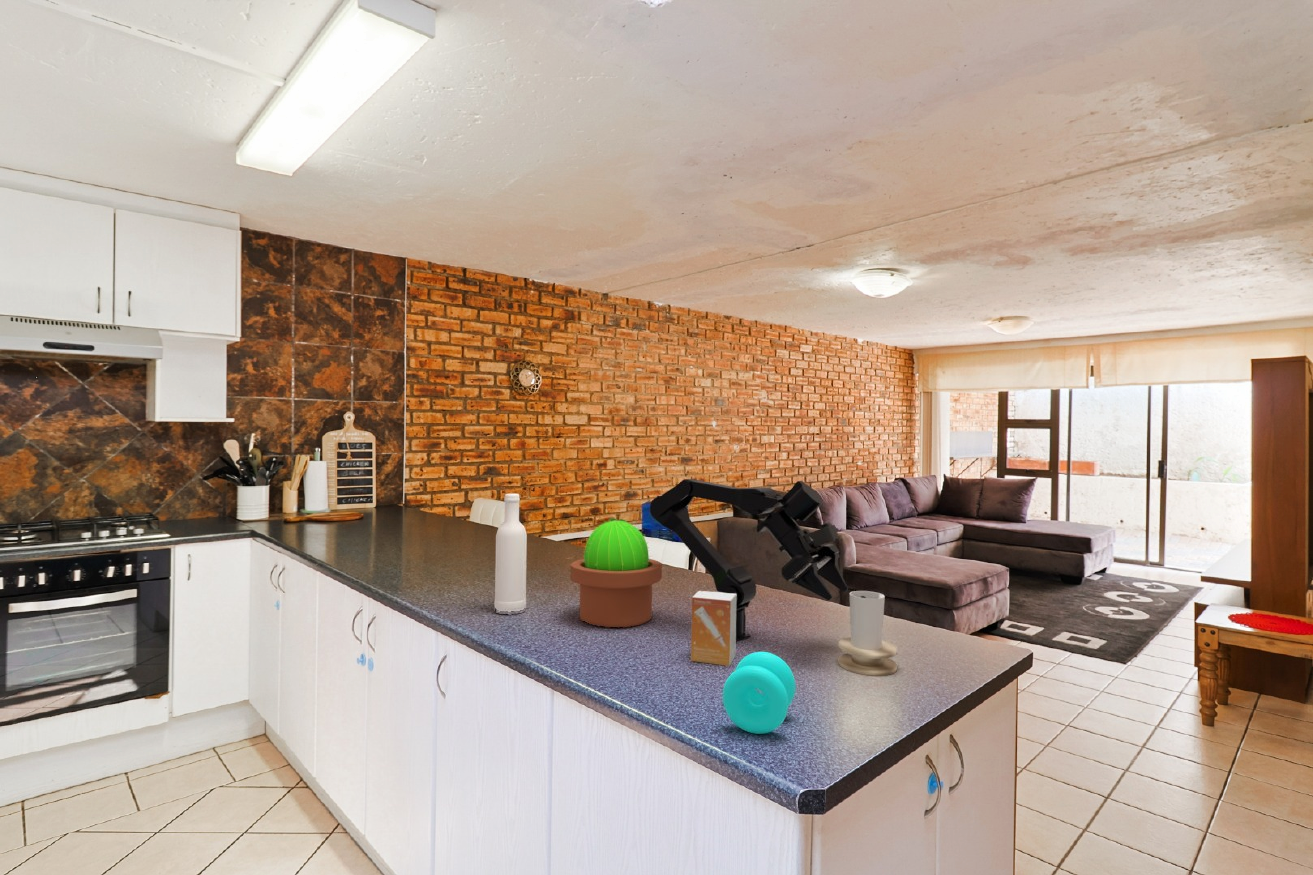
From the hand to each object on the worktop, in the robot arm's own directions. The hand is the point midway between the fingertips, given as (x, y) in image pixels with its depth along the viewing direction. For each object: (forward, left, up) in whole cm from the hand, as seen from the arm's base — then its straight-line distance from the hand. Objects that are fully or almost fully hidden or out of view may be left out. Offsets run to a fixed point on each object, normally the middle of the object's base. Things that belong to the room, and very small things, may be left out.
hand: (838, 594), depth 131 cm
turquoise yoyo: (-36, -9, -13) cm, 39 cm away
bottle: (-34, +74, -13) cm, 83 cm away
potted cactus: (-17, +52, -13) cm, 56 cm away
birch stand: (+1, -6, -13) cm, 14 cm away
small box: (-20, +16, -13) cm, 29 cm away
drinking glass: (+1, -6, -9) cm, 11 cm away
